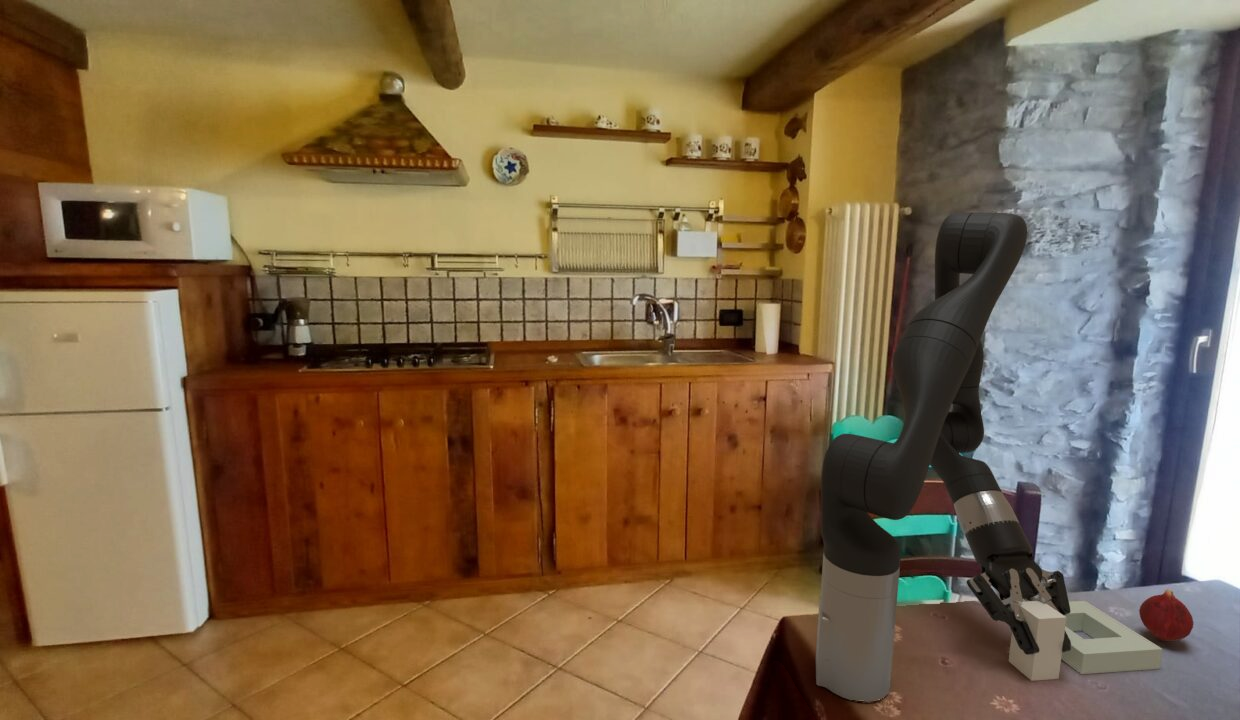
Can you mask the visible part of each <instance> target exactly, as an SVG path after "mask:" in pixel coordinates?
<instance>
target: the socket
mask: <svg viewBox="0 0 1240 720" xmlns="http://www.w3.org/2000/svg"><path fill="white" fill-rule="evenodd" d="M1069 605H1070V610H1071V612H1070V613H1069V614H1066V615H1064V616H1065V617H1067V618H1066V625H1065V631H1066V634H1067V635H1068V637H1069V639H1070V641H1071V650H1070V651H1067V652H1063V653H1062V657H1061V661H1063V662H1064V663H1066V664H1067V665H1069V667H1071V668H1072V669H1074V670H1075V671H1076V672H1077V673H1079V674H1080V675H1088V674H1089V675H1091V674H1102V673H1103V674H1104V673H1119V672H1132V671H1133V672H1135V671H1147V670H1148V671H1149V670H1160V668H1161V662H1162V656H1163V650H1164V649H1163V648H1162V647H1160V646H1159V645H1157V644H1155V643H1154V642H1152V641H1150V640H1149V639H1147V638H1146V637H1144V636H1143V635H1141V634H1139V633H1138V632H1136V631H1134V630H1133V629H1131V628H1129V627H1127V626H1126V625H1124V624H1123V623H1121V622H1119V621H1118V620H1116V619H1115V618H1114V617H1112V616H1110V615H1108V614H1107V613H1105V612H1103V611H1102V610H1100V609H1098V608H1097V607H1096V606H1094V605H1092V604H1090V603H1089V602H1087V601H1086V600H1076V601H1069ZM1076 632H1083V633H1084V634H1086V635H1087V636H1089V637H1091V638H1083V637H1081V636H1080V635H1079V634H1077V633H1076Z"/></svg>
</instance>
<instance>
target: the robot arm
mask: <svg viewBox="0 0 1240 720" xmlns="http://www.w3.org/2000/svg"><path fill="white" fill-rule="evenodd" d="M937 233H938V234H937V237H936V242H935V251H934V300H933V301H931V302H930V303H928V304H927V305H925V306H924V307H923V308H921V309H920V310H919V311H918V312H917V313H916V314H914V315H913V316H912V318H911V319H910V320H909V321H908V323H907V325H906V327H905V329H904V331H903V333H902V335H901V336H900V339H899V341H898V343H897V345H896V346H895V347H896V348H894V349H895V350H894V352H893V354H892V371H893V374H894V375H893V376H894V379H895V383H896V386H897V388H898V391H899V394H900V398H901V401H902V405H903V410H904V411H903V412H904V421H903V425H902V429H901V432H900V434H899V436H898V438H897V439H896V441H894V442H890V441H885V440H881V439H877V438H872V437H867V436H865V435H864V436H863V435H859V434H853V433H842V434H839V435H837V436H836V437H834V438H833V439H832V440H831V442H830V444H829V445H828V447H827V448H826V452H825V453H824V458H823V461H822V469H821V482H820V483H821V487H820V489H821V490H820V495H821V496H820V498H821V499H820V500H821V501H820V502H821V503H820V506H821V508H820V510H821V511H820V512H821V513H820V517H821V518H820V533H821V538H822V541H823V554H822V569H821V570H822V571H821V584H820V586H821V587H820V596H819V602H818V617H817V618H818V619H817V630H816V634H817V635H816V649H815V679H816V680H815V682H816V683H815V684H816V685H817V686H818V687H822V688H826V689H827V690H829V691H831V692H832V693H833V694H835V695H837V696H839V697H841V698H843V699H847V700H850V701H852V700H864V701H874V700H878V699H881V698H883V697H885V696H886V695H887V694H889V693H890V689H891V681H892V667H893V666H892V665H893V654H894V642H895V639H894V638H895V629H896V619H897V618H896V615H897V604H898V593H899V583H900V582H899V580H900V568H901V559H902V552H901V546H900V544H899V542H898V541H897V539H896V538H895V537H894V536H893V535H892V534H891V533H889V532H888V531H887V530H886V529H885V528H883V527H882V526H881V525H879V524H878V523H877V522H876V521H875V519H873V517H871V515H870V514H872V515H874V516H877V517H880V518H884V519H887V520H892V521H898V520H902V519H904V518H906V517H907V515H909V514H910V512H912V510H913V509H914V507H915V505H916V503H917V501H918V500H919V497H920V494H921V492H922V489H923V486H924V484H925V480H926V478H927V474H928V472H929V469H930V468H932V470H933V471H934V473H935V474H937V476H938V477H939V478H940V479H941V481H942V482H943V484H944V486H945V488H946V491H947V493H948V496H949V497H950V500H951V502H952V504H953V506H954V511H955V513H956V514H955V515H956V517H957V520H958V523H959V526H960V528H961V531H962V532H963V534H964V537H965V539H966V541H967V543H968V545H969V548H970V551H971V553H972V555H973V557H974V559H975V562H976V563H977V564H978V565H980V574H978V573H977V575H974V576H973V577H971V578H968V579H967V580H966V585H967V587H969V589H970V590H971V592H972V593H973V595H974V596H975V598H976V599H977V601H979V603H980V604H981V606H982V607H983V608H984V610H985V611H986V613H987V614H988V615H989V616H990V618H991V619H992V621H995V622H999V621H1000V622H1002V623H1005V624H1006V625H1008V626H1009V628H1010V630H1011V634H1012V633H1013V635H1014V637H1015V639H1016V641H1017V644H1018V646H1019V647H1020V649H1021V650H1023V651H1024V653H1025V654H1026V655H1030V654H1035V653H1038V652H1039V647H1038V645H1037V643H1036V641H1035V639H1034V637H1033V635H1032V633H1031V631H1030V628H1029V626H1028V624H1027V622H1023V620H1024V615H1023V612H1022V610H1021V607H1020V605H1022V603H1023V602H1027V601H1041V602H1042V603H1044V604H1047V605H1049V606H1050V607H1052V608H1053V609H1055V610H1056V611H1058V612H1059V613H1061V614H1062V615H1066V614H1069V613H1070V612H1071V610H1070V605H1069V602H1070V601H1069V597H1068V591H1067V586H1066V582H1065V578H1064V574H1063V573H1062V572H1061V571H1060V570H1055V571H1052V572H1051V571H1048V570H1044V569H1042V568H1041V566H1040V565H1039V564H1038V563H1037V562H1036V560H1034V557H1033V548H1032V546H1031V543H1030V542H1029V539H1028V538H1027V536H1026V534H1025V532H1024V530H1023V528H1022V525H1021V523H1020V521H1019V519H1018V518H1017V515H1016V514H1015V512H1014V510H1013V508H1012V506H1011V504H1010V502H1009V501H1008V500H1007V498H1006V497H1005V496H1004V493H1003V492H1002V489H1001V488H1000V485H999V483H998V481H997V479H996V477H995V476H994V474H993V472H992V470H991V468H990V466H989V465H988V464H987V463H986V462H985V461H983V460H980V459H975V458H972V457H967V456H963V455H962V454H966V453H967V454H968V453H972V452H974V451H976V450H977V449H978V448H979V447H980V446H981V444H982V442H983V440H984V437H985V426H984V421H983V415H982V409H981V401H980V393H979V390H980V385H981V377H982V372H983V366H984V356H985V355H984V353H985V352H984V348H983V347H984V346H983V343H982V340H981V339H982V337H983V333H984V331H985V328H986V326H987V324H988V322H989V319H990V317H991V315H992V313H993V310H994V308H995V306H996V304H997V302H998V300H999V299H1000V296H1001V295H1002V294H1003V292H1004V289H1005V288H1006V286H1007V284H1008V283H1009V281H1010V279H1011V277H1012V275H1013V273H1014V272H1015V270H1016V268H1017V266H1018V264H1019V262H1020V260H1021V257H1022V256H1023V254H1024V250H1025V247H1026V242H1027V239H1028V227H1027V223H1026V221H1025V219H1024V218H1023V217H1022V216H1020V215H1018V214H1014V213H1009V212H1008V213H1007V212H953V213H950V214H948V215H947V216H946V217H945V218H944V220H943V221H942V223H941V225H940V227H939V229H938V232H937ZM961 274H965V275H971V276H970V277H969V278H967V280H965V281H964V282H962V284H960V277H961ZM951 408H952V409H951ZM950 409H951V411H950ZM995 590H996V592H995ZM1037 596H1038V597H1037ZM1036 597H1037V598H1036ZM1070 650H1071V641H1070V639H1069V637H1068V635H1067V634H1066V631H1065V633H1064V641H1063V646H1062V653H1063V652H1067V651H1070ZM888 692H889V693H888ZM887 696H888V695H887ZM887 696H886V697H887ZM886 697H885V698H886ZM883 699H884V698H883ZM881 700H882V699H881Z"/></svg>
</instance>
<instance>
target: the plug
mask: <svg viewBox="0 0 1240 720" xmlns="http://www.w3.org/2000/svg"><path fill="white" fill-rule="evenodd" d="M1020 607H1021V610H1022V612H1023V615H1024V620H1023V622H1027V624H1028V626H1029V628H1030V631H1031V633H1032V635H1033V637H1034V639H1035V641H1036V643H1037V645H1038V647H1039V652H1038V653H1035V654H1030V655H1026V654H1025V653H1024V651H1023V650H1021V649H1020V647H1019V646H1018V644H1017V641H1016V639H1015V637H1014V635H1013V633H1012V632H1011V636H1010V637H1011V638H1010V645H1009V646H1010V647H1009V652H1008V653H1009V654H1008V662H1009V663H1010V664H1011V665H1012V666H1014V668H1016V669H1017V670H1018V671H1019V672H1020V673H1021V674H1023V675H1024V676H1025V677H1026V678H1027V679H1029V680H1030V681H1031V682H1034V681H1048V680H1059V678H1060V671H1061V670H1060V669H1061V662H1062V659H1061V657H1062V646H1063V641H1064V633H1065V625H1066V618H1067V617H1065V616H1064V615H1062V614H1061V613H1059V612H1058V611H1056V610H1055V609H1053V608H1052V607H1050V606H1049V605H1047V604H1044V603H1042V602H1041V601H1027V602H1026V601H1023V603H1022V605H1020Z"/></svg>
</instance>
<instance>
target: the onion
mask: <svg viewBox="0 0 1240 720" xmlns="http://www.w3.org/2000/svg"><path fill="white" fill-rule="evenodd" d="M1138 612H1139V617H1140V620H1141V622H1142V624H1143V626H1144V627H1145V628H1146V629H1147V630H1148V631H1149V632H1150V633H1151V634H1152V635H1153V636H1154V637H1156V639H1158V640H1159V641H1161V642H1173V641H1179V640H1182V639H1185V638H1187V637H1188V636H1190V634H1191V632H1192V630H1193V628H1194V619H1193V616H1192V614H1191V612H1190V610H1189V609H1188V608H1187V606H1186V605H1185V604H1184V603H1183V602H1182V601H1181V600H1179V599H1178V598H1176V596H1175V594H1174V592H1173V591H1172V589H1169V588H1167V589H1165V590H1164V592H1163V593H1162V594H1157V595H1153V596H1150V597H1148V598H1147V599H1145V600H1144V601H1143V602H1142V603H1141V605H1140V606H1139V610H1138Z"/></svg>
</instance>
